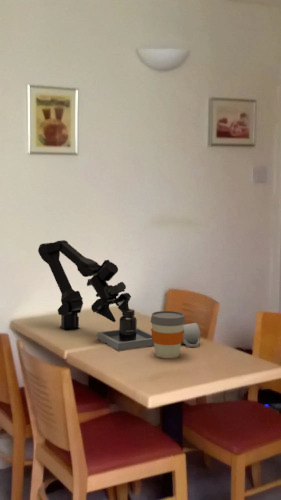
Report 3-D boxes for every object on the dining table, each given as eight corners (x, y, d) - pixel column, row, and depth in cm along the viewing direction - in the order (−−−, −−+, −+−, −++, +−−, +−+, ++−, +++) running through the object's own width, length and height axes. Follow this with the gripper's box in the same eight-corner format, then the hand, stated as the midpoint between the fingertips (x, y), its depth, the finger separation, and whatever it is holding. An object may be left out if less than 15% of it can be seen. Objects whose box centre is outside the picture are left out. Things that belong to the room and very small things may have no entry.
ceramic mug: (173, 341, 253) (174, 322, 252) (192, 339, 256) (193, 320, 255) (184, 348, 243) (185, 329, 242) (204, 347, 246) (204, 327, 245)
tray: (118, 350, 239) (118, 343, 238) (97, 339, 254) (97, 332, 254) (159, 344, 247) (159, 337, 247) (136, 334, 263) (136, 327, 263)
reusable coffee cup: (154, 360, 228) (154, 319, 226) (146, 350, 240) (147, 311, 238) (188, 358, 230) (189, 318, 228) (179, 348, 242) (180, 310, 240)
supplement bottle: (129, 343, 246) (129, 312, 244) (115, 340, 250) (115, 310, 248) (139, 339, 251) (140, 309, 250) (126, 336, 255) (126, 307, 254)
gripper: (97, 278, 245) (118, 311, 240) (128, 273, 260) (148, 303, 254) (82, 296, 251) (102, 328, 246) (113, 289, 266) (133, 319, 260)
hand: (122, 319), depth 252 cm, fingers open, 9 cm apart
